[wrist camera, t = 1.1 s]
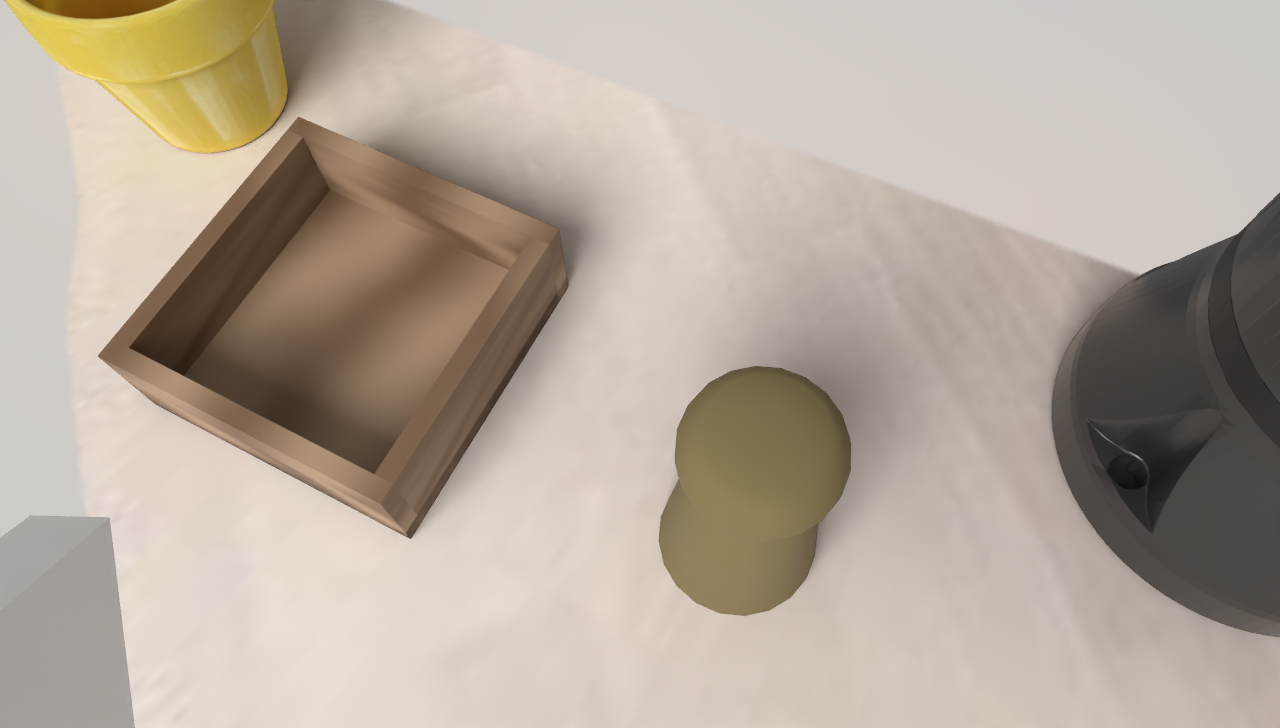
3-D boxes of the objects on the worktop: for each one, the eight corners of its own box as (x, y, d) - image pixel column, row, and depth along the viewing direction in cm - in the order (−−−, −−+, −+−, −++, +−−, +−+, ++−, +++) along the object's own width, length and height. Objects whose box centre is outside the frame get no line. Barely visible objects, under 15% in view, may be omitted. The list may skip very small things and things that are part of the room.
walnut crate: (568, 286, 41) (559, 228, 37) (410, 539, 36) (380, 503, 32) (331, 181, 44) (298, 116, 40) (155, 404, 39) (97, 356, 35)
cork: (730, 650, 35) (761, 582, 25) (626, 525, 37) (617, 417, 27) (848, 547, 36) (922, 444, 26) (743, 433, 38) (774, 299, 28)
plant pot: (289, -6, 49) (209, -186, 40) (358, 132, 45) (287, -34, 36) (91, 66, 47) (-38, -106, 38) (145, 218, 43) (15, 65, 34)
